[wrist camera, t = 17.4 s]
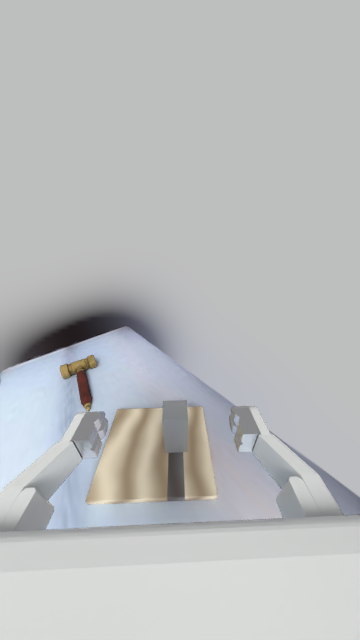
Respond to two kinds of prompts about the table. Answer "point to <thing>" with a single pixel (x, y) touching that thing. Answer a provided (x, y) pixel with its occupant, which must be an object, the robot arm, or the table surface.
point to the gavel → (80, 377)
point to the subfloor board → (152, 461)
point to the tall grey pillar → (175, 426)
